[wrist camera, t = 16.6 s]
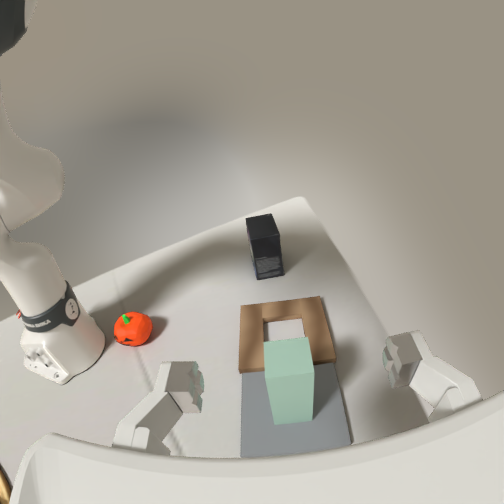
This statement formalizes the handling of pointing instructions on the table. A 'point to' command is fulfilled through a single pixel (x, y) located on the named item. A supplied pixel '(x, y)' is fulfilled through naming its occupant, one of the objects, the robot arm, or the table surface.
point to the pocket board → (278, 311)
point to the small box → (265, 246)
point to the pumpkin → (132, 329)
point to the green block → (289, 380)
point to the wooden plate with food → (4, 490)
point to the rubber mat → (293, 434)
